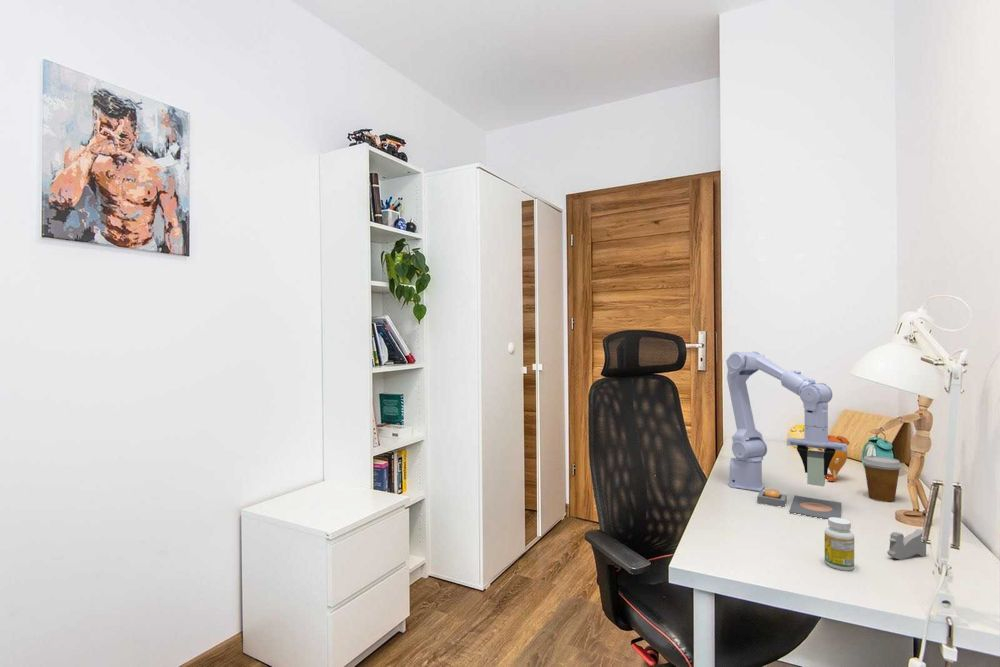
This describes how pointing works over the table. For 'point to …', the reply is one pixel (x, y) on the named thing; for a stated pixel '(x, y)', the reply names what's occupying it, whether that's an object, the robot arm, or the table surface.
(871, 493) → the disposable coffee cup
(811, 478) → the grey and green block
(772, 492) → the button
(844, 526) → the supplement bottle
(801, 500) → the drawing mat
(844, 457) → the toy figure
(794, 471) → the table surface
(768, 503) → the button housing
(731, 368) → the robot arm
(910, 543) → the grey tape dispenser
